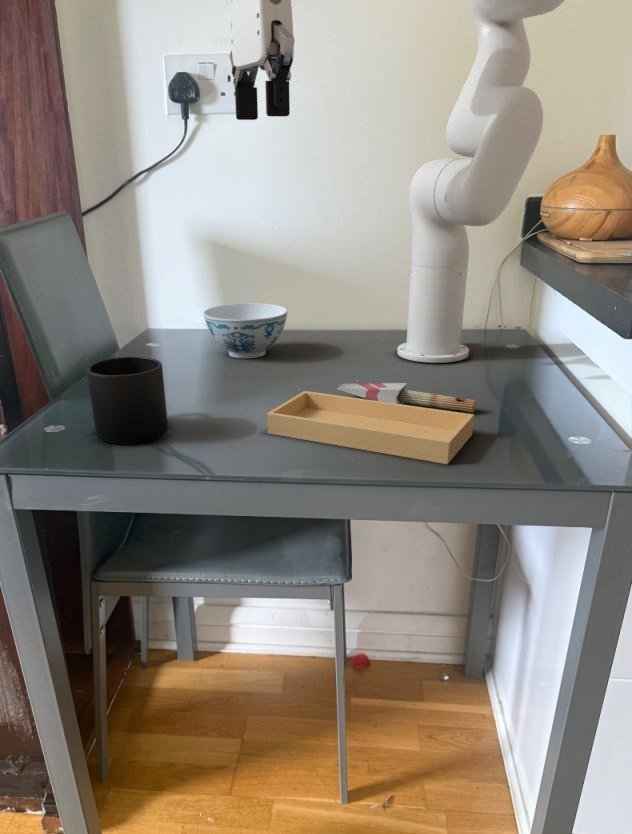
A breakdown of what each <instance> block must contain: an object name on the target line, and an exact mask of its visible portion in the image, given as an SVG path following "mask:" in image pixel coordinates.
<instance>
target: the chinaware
mask: <svg viewBox="0 0 632 834" xmlns="http://www.w3.org/2000/svg"><path fill="white" fill-rule="evenodd" d="M203 318H204V321H205V324H206V327H207V329H208V332H209V334H210V335H211V337H212V338H213V339H214V340H215V341H216V343H218V345H220V346H221V347H222V348H224V349H225V350H227V351H228V355H229V356H230V357H232V358H234V359H235V358H236V359H256V358H261V357H263V356H265V355H266V351H267V349H268V348H270V347H271V346H272V345H273V344H275V342H276V341H277V340H278V339H279V337H280V336H281V334H282V332H283V330H284V328H285V325H286V321H287V318H288V309H287V308H286V307H284V306H281V305H277V304H272V303H271V304H270V303H260V302H259V303H258V302H257V303H255V302H252V303H251V302H250V303H248V302H247V303H246V302H244V303H231V304H230V303H229V304H222V305H217V306H212V307H210V308H207V309H205V310H204V311H203Z"/></svg>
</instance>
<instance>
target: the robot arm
mask: <svg viewBox="0 0 632 834" xmlns="http://www.w3.org/2000/svg"><path fill="white" fill-rule="evenodd" d="M565 1H566V0H469V5H470V9H471V13H472V17H473V19H474V20H473V21H474V25H475V29H476V33H477V44H478V46H477V51H476V56H475V59H474V62H473V64H472V67H471V70H470V71H469V73H468V76H467V78H466V80H465V82H464V85H463V87H462V89H461V91H460V94H459V95H458V98H457V100H456V102H455V104H454V106H453V108H452V111H451V113H450V115H449V118H448V121H447V124H446V128H445V140H446V145H447V147H448V148H449V149H450V151H452V152H453V153H454V154H456V155H459V156H461V157H463V158H461V157H445V158H437V159H434V160H430V161H428V162H426V163H425V164H422V165H421V166H420V168H418V170H416V172H415V174H414V175H413V177H412V180H411V181H410V185H409V190H408V206H409V213H410V221H411V222H410V223H411V258H410V259H411V260H410V271H409V272H410V273H409V276H410V277H409V292H408V310H407V327H406V342H403V343H401V344H399V345H398V346H397V351H396V353H397V355H398V356H399V357H400V358H402V359H403V360H404V359H405V360H408V361H412V362H417V363H428V364H446V363H454V362H460V361H462V360H465V359H467V358H468V357H469V353H470V348H469V347H468V346H466V345H464V344H462V334H463V324H464V323H463V322H464V313H465V311H464V310H465V300H466V290H467V280H468V279H467V278H468V267H469V257H470V242H469V236H468V233H467V229H466V226H469V227H482V226H487V225H489V224H492V223H493V222H495V221H496V220H498V219H499V217H500V216H501V215H502V214H503V213H504V211H505V210H506V208H507V206H508V205H509V203H510V201H511V200H512V198H513V196H514V194H515V192H516V189H517V187H518V185H519V183H520V181H521V179H522V177H523V175H524V173H525V171H526V170H527V167H528V164H529V163H530V161H531V159H532V157H533V155H534V152H535V150H536V148H537V145H538V144H539V141H540V139H541V135H542V130H543V125H544V124H543V123H544V112H543V111H544V109H543V105H542V102H541V99H540V97H539V96H538V94H537V93H536V92H535V91H533V90H532V89H530V87H526V86H523V85H524V83H525V82H526V81H525V80H526V78H527V76H528V73H529V69H530V66H531V49H530V43H529V40H528V35H527V32H526V28H525V24H524V19H528V18H532V17H537V16H542V15H545V14H548V13H551V12H553V11H555V10H556V9H558V8H559V7H560V6H561V5H562V4H563V3H564V2H565ZM230 3H231V4H230V35H231V37H230V38H231V40H230V41H231V51H230V53H229V59H230V65H231V73H232V74H231V75H232V76H233V81H232V84H233V87H234V99H235V100H234V102H235V104H234V105H235V118H236V120H237V121H255V120H257V119H258V118H259V110H258V109H259V107H258V106H259V105H258V87H256V86H255V83H256V81H257V76H258V72H259V69H260V70H261V71H263V72H264V71H265V73H266V75H267V79H268V80H265V114H266V116H267V117H289V116H290V112H291V111H290V110H291V109H290V81H291V78H292V72H291V68H292V65H293V62H294V59H295V58H294V57H295V39H296V38H295V37H294V21H293V9H292V8H293V7H292V0H231V1H230ZM464 157H466V158H464Z"/></svg>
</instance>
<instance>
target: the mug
mask: <svg viewBox="0 0 632 834" xmlns="http://www.w3.org/2000/svg"><path fill="white" fill-rule="evenodd" d="M163 370H164V369H163V363H162V362H161V361H160V360H159V359H155V358H152V357H146V356H119V357H112V358H107V359H103V360H99V361H96V362H93V363H91V364H89V365H88V366H87V368H86V376H87V382H88V383H87V384H88V390H89V395H90V396H89V397H90V402H91V408H92V409H91V410H92V417H93V423H94V429H95V435H96V437H97V438H98V440H100V441H102V442H104V443H108V444H114V445H135V444H142V443H146V442H147V443H148V442H151V441H154V440H157V439H159V438H161V437H163V436H164V435H165V434H167V431H168V429H169V422H168V421H169V420H168V412H167V403H166V402H167V400H166V391H165V381H164V371H163Z"/></svg>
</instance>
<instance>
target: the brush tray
mask: <svg viewBox="0 0 632 834" xmlns="http://www.w3.org/2000/svg"><path fill="white" fill-rule="evenodd" d="M474 420H475V414H473V413H467V412H458V411H453V410H452V411H451V410H446V409H439V408H430V407H422V406H416V405H408V404H395V403H388V402H381V401H373V400H369V399H366V398H358V397H351V396H343V395H338V394H329V393H323V392H316V391H315V392H314V391H310V390H309V391H307V390H303V391H302V392H300V393H299V394H297V395H295V396H294V397H292V398H290V399H288V400H287V401H285V402H283V403H282V404H280V405H278V406H277V407H275V408H274V409H272V410H270V411H269V412H267V413H266V423H267V427H266V428H267V434H269V435H275V436H280V437H287V438H292V439H298V440H303V441H309V442H315V443H321V444H326V445H327V444H328V445H332V446H339V447H345V448H349V449H350V448H351V449H356V450H362V451H367V452H372V453H379V454H385V455H390V456H395V457H402V458H407V459H414V460H419V461H425V462H432V463H436V464H443V465H449V463H450V462H451V461H452V460H453V458H454V457H455V456H456V455H457V454H458V452H460V451H461V450H462V448H463V446H464V445H465V444H466V443H467V442H468V440H469V439H470V438H471V437H472V436H473V430H474Z"/></svg>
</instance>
